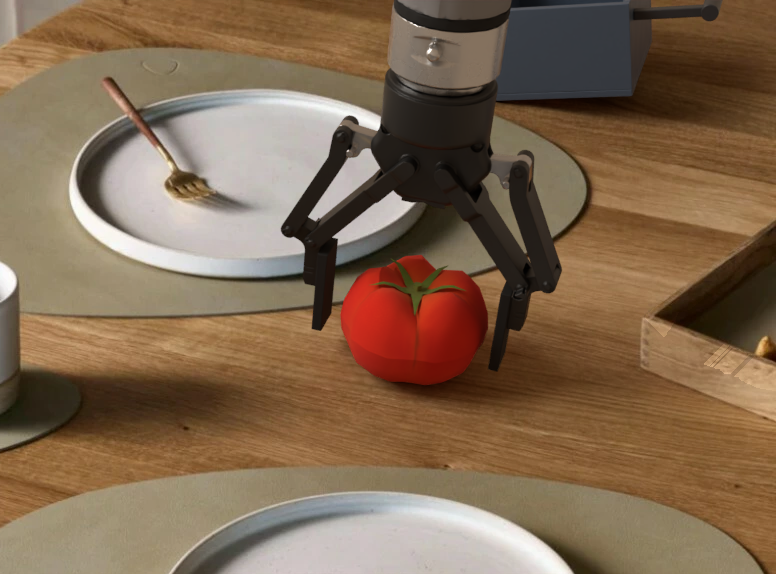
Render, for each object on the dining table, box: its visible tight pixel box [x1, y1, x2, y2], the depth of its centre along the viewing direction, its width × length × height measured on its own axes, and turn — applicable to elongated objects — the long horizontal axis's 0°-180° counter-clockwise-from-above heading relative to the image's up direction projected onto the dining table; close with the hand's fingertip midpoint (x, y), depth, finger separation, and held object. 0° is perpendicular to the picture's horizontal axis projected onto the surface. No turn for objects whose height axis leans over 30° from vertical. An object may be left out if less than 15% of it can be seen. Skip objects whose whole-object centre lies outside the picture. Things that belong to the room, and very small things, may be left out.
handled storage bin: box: [495, 0, 724, 102], centre depth 150 cm, size 22×14×9 cm, turn 71°
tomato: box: [339, 254, 489, 386], centre depth 113 cm, size 11×11×8 cm
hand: (407, 341), depth 114 cm, fingers open, 13 cm apart
